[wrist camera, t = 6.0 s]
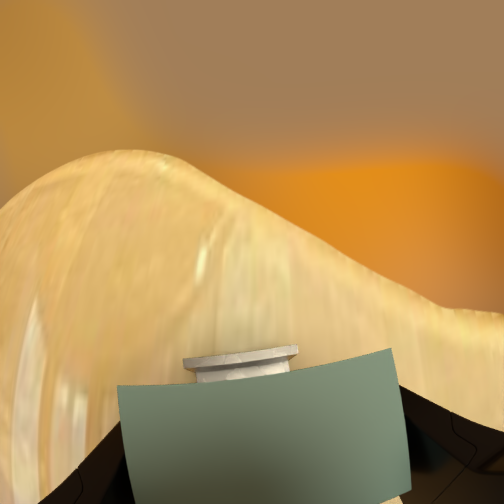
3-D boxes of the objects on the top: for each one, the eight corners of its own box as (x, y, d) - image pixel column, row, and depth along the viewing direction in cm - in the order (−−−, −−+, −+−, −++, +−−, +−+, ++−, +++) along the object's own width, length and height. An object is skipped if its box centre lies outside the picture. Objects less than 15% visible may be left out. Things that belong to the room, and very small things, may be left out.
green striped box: (319, 442, 13) (411, 489, 4) (201, 458, 13) (143, 533, 4) (308, 376, 15) (391, 347, 6) (191, 391, 15) (116, 385, 6)
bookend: (300, 439, 18) (315, 452, 14) (208, 452, 18) (198, 468, 13) (285, 354, 22) (296, 343, 17) (195, 365, 21) (182, 358, 17)
